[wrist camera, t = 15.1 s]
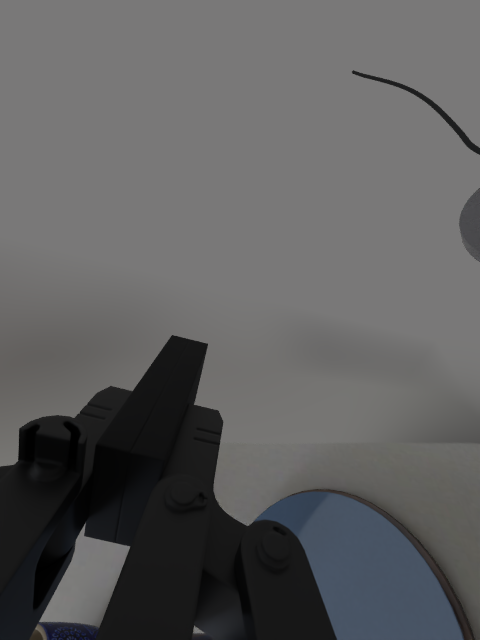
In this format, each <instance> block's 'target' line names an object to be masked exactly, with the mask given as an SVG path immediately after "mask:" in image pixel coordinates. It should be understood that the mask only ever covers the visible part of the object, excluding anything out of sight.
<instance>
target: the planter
mask: <svg viewBox="0 0 480 640" xmlns="http://www.w3.org/2000/svg"><path fill="white" fill-rule="evenodd" d="M98 631H99V628H98V627H96V626H93V625H88V624H81V623H68V622H38V624H37V626H36V628H35V630H34V632H33V634H32V636H31V637H30V639H29V640H95V639H96V636H97V633H98Z"/></svg>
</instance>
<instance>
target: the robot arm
mask: <svg viewBox="0 0 480 640" xmlns="http://www.w3.org/2000/svg"><path fill="white" fill-rule="evenodd" d="M352 73H353V74H355V75H358V76H361V77H364V78H368V79H372V80H376V81H380V82H384V83H387V84H390V85H394V86H396V87H399V88H402V89H404V90H406V91H408V92H410V93H412V94H414V95H416V96H417V97H419V98H420V99H422V100H423V101H425V102H426V103H427V104H429V105H430V106H431V107H432V108H433V109H434V110H436V111H437V112H438V113H439V114H440V115H441V116H442V117H443V119H444V120H445V121H446V122H447V123H448V124H449V125H450V126H451V127H452V128H453V129H454V131H455V132H456V133H457V134H458V135H459V137H460V138H461V139H462V141H463V142H464V143H465V144H466V146H467V147H468V148H470V149H471V150H472V151H474V152H476V153H477V154H479V155H480V148H479V147H478V146H476V145H475V144H473V143H472V142H471V141H470V140H469V138H468V137H467V136H466V135H465V133H464V132H463V131H462V130H461V129H460V127H459V126H458V125H457V124H456V123H455V122H454V121H453V120H452V119H451V118H450V117H449V116H448V115H447V114H446V113H445V112H444V111H443V110H442V109H441V108H440V107H439V106H438V105H436V104H435V103H434V102H433V101H432V100H430V99H429V98H427V97H426V96H424V95H423V94H421V93H419V92H418V91H416V90H414V89H412V88H410V87H407V86H405V85H403V84H400V83H397V82H393V81H390V80H387V79H383V78H378V77H375V76H370V75H366V74H363V73H359V72H356V71H352ZM207 346H208V344H206V343H202V342H198V341H194V340H190V339H186V338H182V337H178V336H173V335H172V336H171V338H170V339H169V340H168V342H167V343H166V344H165V346H164V347H163V349H162V350H161V352H160V353H159V354H158V356H157V357H156V359H155V360H154V362H153V363H152V364H151V366H150V367H149V369H148V370H147V372H146V373H145V375H144V376H143V378H142V379H141V380H140V382H139V383H138V384H137V386H136V387H135V389H134V390H133V391H129V390H125V389H120V388H117V387H112V386H110V387H108V388H106V389H104V390H102V391H100V392H98V393H97V394H96V395H95V396H94V397H93V398H92V399H91V400H90V401H89V402H88V404H87V405H86V406H85V407H84V408H83V409H82V410H81V411H80V414H78V415H77V416H76V417H75V418H72V417H68V416H59V415H56V416H47V417H42V418H39V419H36V420H33V421H30V422H29V423H27V424H26V425H24V426H22V427H21V428H20V429H19V456H18V462H17V463H16V464H15V465H10V466H1V467H0V640H29V639H30V637H31V636H32V634H33V632H34V630H35V628H36V626H37V624H38V622H39V621H40V619H41V617H42V615H43V613H44V611H45V609H46V607H47V605H48V604H49V602H50V600H51V598H52V596H53V594H54V592H55V590H56V589H57V587H58V585H59V583H60V581H61V579H62V577H63V575H64V573H65V572H66V570H67V568H68V566H69V564H70V562H71V560H72V557H73V554H74V551H75V542H76V539H77V537H78V535H79V533H80V531H81V530H82V528H83V526H84V524H85V522H86V526H85V534H84V536H86V537H91V538H95V539H100V540H104V541H109V542H113V543H118V544H122V545H127V546H131V547H130V549H129V552H128V555H127V557H126V560H125V563H124V565H123V568H122V570H121V573H120V576H119V578H118V581H117V584H116V586H115V589H114V591H113V594H112V597H111V599H110V602H109V604H108V607H107V610H106V612H105V615H104V618H103V620H102V623H101V625H100V628H99V631H98V633H97V636H96V639H95V640H192V634H193V628H194V625H195V626H196V627H197V628H199V629H200V630H202V631H203V632H204V633H206V634H207V635H209V636H210V637H211V638H212V640H337V638H336V635H335V632H334V630H333V627H332V624H331V621H330V619H329V616H328V613H327V610H326V608H325V605H324V602H323V599H322V597H321V594H320V591H319V588H318V585H317V583H316V580H315V577H314V574H313V572H312V569H311V566H310V563H309V561H308V558H307V555H306V552H305V550H304V548H303V546H302V544H301V542H300V541H299V539H298V537H297V536H296V535H295V534H294V533H293V532H292V531H291V530H290V529H289V528H287V527H286V526H284V525H282V524H280V523H279V522H277V521H271V520H266V519H264V520H259V521H254V522H253V523H252V524H251V525H249V526H246V525H244V524H242V523H241V522H239V521H237V520H235V519H234V518H232V517H231V516H230V515H228V514H227V513H226V512H225V511H224V510H223V509H222V508H221V507H220V506H219V504H218V502H217V500H216V499H215V495H214V491H213V484H214V477H215V471H216V465H217V458H218V452H219V445H220V439H221V433H222V427H223V420H222V418H221V415H220V413H219V411H218V410H213V409H209V408H205V407H201V406H197V405H194V402H195V398H196V394H197V389H198V385H199V381H200V377H201V372H202V368H203V363H204V359H205V355H206V350H207Z"/></svg>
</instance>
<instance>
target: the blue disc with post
mask: <svg viewBox="0 0 480 640" xmlns="http://www.w3.org/2000/svg"><path fill="white" fill-rule="evenodd" d="M264 519H266V520H271V521H277V522H279V523H280V524H282V525H284V526H286V527H287V528H289V529H290V530H291V531H292V532H293V533H294V534H295V535H296V536H297V537H298V539H299V541H300V542H301V544H302V546H303V548H304V550H305V552H306V555H307V558H308V561H309V563H310V566H311V569H312V572H313V574H314V577H315V580H316V583H317V585H318V588H319V591H320V594H321V597H322V599H323V602H324V605H325V608H326V610H327V613H328V616H329V619H330V621H331V624H332V627H333V630H334V632H335V635H336V638H337V640H465V636H464V633H463V630H462V628H461V625H460V623H459V620H458V618H457V615H456V613H455V610H454V608H453V606H452V604H451V602H450V600H449V598H448V596H447V594H446V592H445V590H444V588H443V586H442V584H441V582H440V581H439V579H438V578H437V576H436V575H435V573H434V571H433V570H432V568H431V567H430V565H429V564H428V562H427V561H426V559H425V558H424V557H423V556H422V554H421V553H420V552H419V551H418V549H417V548H416V547H415V546H414V544H413V543H412V542H411V541H410V540H409V539H408V538H407V537H406V536H405V535H404V534H403V533H402V532H401V531H400V530H399V529H398V528H397V527H396V526H395V525H393V524H392V523H391V522H390V521H389V520H387V519H386V518H385V517H384V516H382V515H381V514H379V513H378V512H376V511H375V510H373V509H372V508H370V507H369V506H367V505H365V504H363V503H361V502H359V501H357V500H355V499H352V498H349V497H346V496H343V495H340V494H335V493H330V492H305V493H299V494H296V495H292V496H289V497H287V498H285V499H283V500H280V501H278V502H277V503H275V504H274V505H272V506H271V507H269V508H268V509H267V510H265V511H264V512H263V513H262V514H261V515H260V516H258V518H257V519H256V520H255V521H259V520H264ZM192 640H212V638H211V637H210V636H209V635H207V634H206V633H193V634H192Z"/></svg>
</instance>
